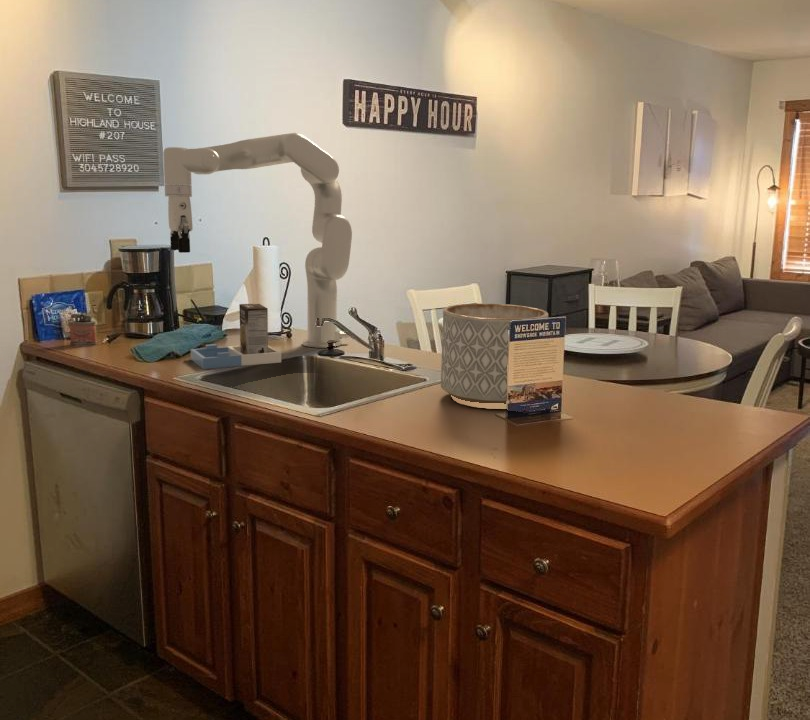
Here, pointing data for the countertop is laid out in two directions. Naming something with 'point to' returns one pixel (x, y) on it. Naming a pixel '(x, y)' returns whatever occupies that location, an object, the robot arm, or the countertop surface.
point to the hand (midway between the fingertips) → (180, 251)
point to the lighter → (82, 330)
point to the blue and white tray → (231, 357)
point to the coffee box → (253, 328)
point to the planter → (479, 349)
